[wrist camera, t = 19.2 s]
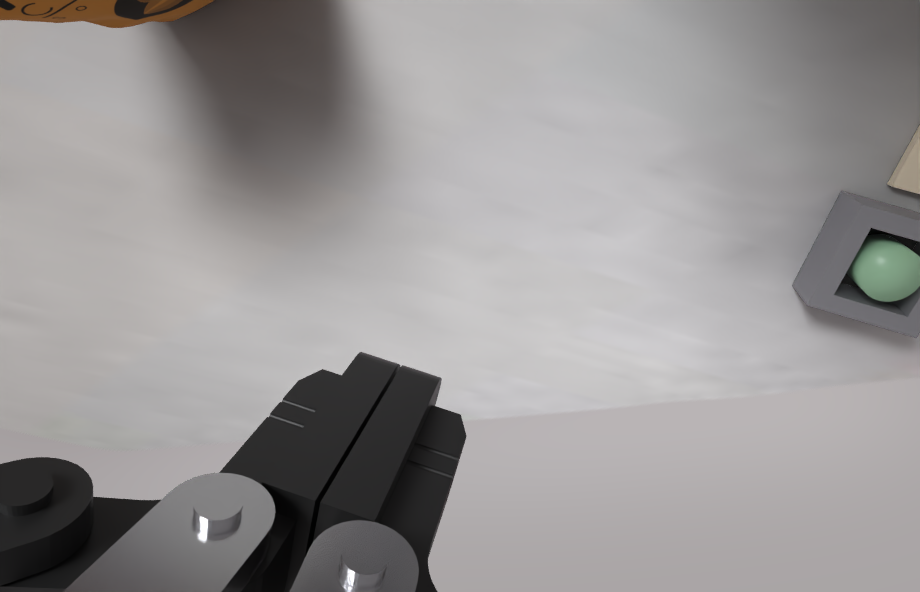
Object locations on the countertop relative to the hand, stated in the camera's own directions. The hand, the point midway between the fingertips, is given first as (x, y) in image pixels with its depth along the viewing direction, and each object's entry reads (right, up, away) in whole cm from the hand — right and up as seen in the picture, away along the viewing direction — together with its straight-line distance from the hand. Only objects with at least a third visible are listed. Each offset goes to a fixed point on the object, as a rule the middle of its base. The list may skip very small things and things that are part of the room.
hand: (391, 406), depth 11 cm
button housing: (+25, +4, +25) cm, 35 cm away
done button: (+24, +4, +24) cm, 35 cm away
